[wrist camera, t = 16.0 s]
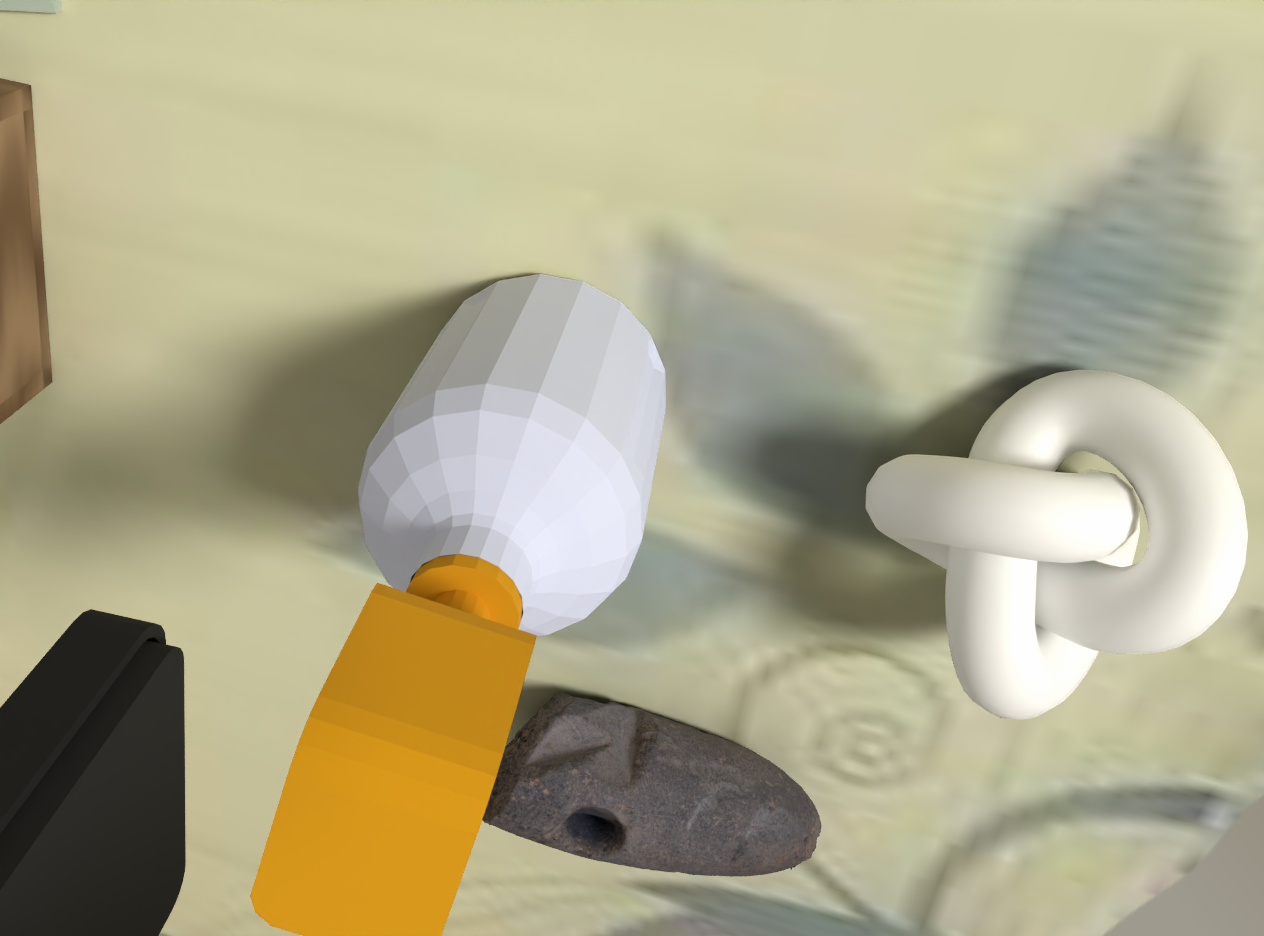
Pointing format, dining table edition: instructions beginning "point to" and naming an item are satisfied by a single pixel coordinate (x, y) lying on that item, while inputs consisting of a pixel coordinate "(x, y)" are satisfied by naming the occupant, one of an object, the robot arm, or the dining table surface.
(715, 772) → the perforated stone tool
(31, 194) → the box
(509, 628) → the soap bottle
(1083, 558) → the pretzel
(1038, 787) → the dining table surface
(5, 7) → the lid
